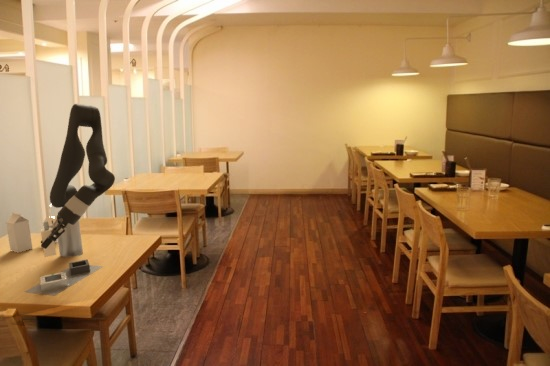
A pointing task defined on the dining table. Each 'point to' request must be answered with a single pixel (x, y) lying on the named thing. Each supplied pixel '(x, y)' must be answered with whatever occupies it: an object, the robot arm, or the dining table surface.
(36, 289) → the port board
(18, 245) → the milk carton
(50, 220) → the cup with straw
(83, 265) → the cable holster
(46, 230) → the plug
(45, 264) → the dining table surface
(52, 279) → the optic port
